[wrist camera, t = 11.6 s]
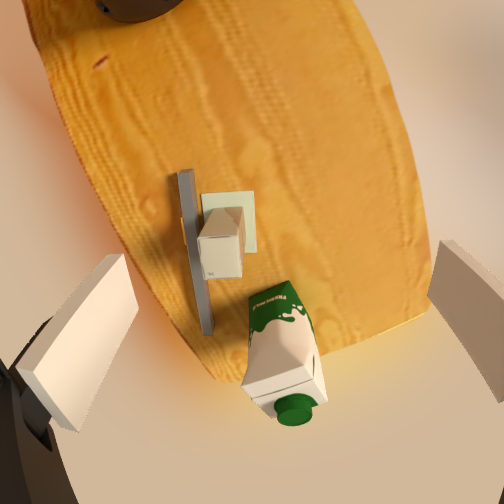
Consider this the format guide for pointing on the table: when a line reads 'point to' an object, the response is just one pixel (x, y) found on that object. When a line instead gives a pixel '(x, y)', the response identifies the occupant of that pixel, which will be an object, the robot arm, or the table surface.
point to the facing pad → (234, 200)
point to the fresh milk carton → (283, 357)
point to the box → (223, 244)
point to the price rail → (194, 247)
